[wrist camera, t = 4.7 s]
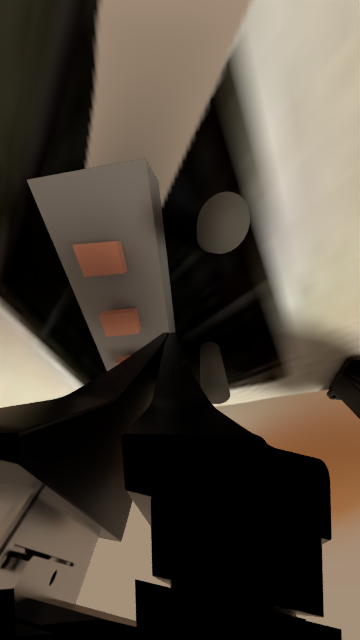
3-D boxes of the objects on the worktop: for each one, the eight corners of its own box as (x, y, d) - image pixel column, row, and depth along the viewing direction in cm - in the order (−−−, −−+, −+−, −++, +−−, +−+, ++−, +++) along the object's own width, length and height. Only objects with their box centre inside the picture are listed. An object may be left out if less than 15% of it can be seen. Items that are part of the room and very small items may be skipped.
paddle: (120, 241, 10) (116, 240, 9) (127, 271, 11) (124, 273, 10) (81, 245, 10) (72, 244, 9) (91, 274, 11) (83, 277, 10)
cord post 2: (220, 341, 16) (231, 385, 11) (219, 357, 18) (229, 404, 12) (199, 341, 17) (200, 384, 11) (199, 357, 18) (201, 403, 13)
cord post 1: (226, 217, 11) (253, 187, 6) (225, 250, 12) (246, 251, 7) (196, 220, 12) (195, 195, 6) (197, 253, 13) (197, 255, 7)
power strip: (158, 180, 11) (145, 157, 8) (180, 372, 19) (177, 392, 17) (65, 195, 12) (26, 180, 9) (125, 371, 21) (114, 389, 18)
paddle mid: (136, 307, 12) (133, 312, 11) (140, 327, 13) (138, 333, 12) (103, 311, 12) (98, 315, 11) (110, 331, 13) (106, 336, 12)
